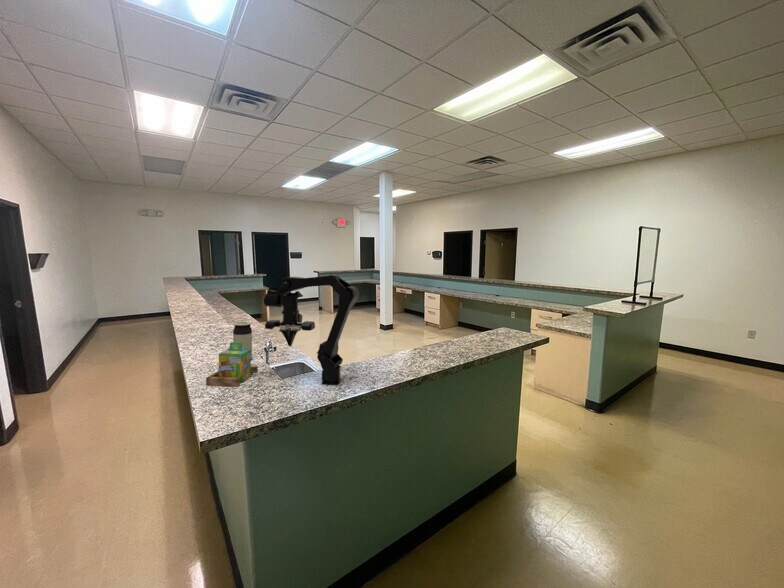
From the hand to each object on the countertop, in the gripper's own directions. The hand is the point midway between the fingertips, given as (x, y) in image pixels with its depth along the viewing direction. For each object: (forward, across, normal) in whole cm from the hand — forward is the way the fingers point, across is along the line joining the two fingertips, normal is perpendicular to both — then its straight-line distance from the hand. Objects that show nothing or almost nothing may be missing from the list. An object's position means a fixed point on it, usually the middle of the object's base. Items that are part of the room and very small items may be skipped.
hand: (290, 346), depth 128 cm
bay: (+13, +20, +5) cm, 25 cm away
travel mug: (+13, +30, -19) cm, 38 cm away
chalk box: (+13, +20, +5) cm, 25 cm away
